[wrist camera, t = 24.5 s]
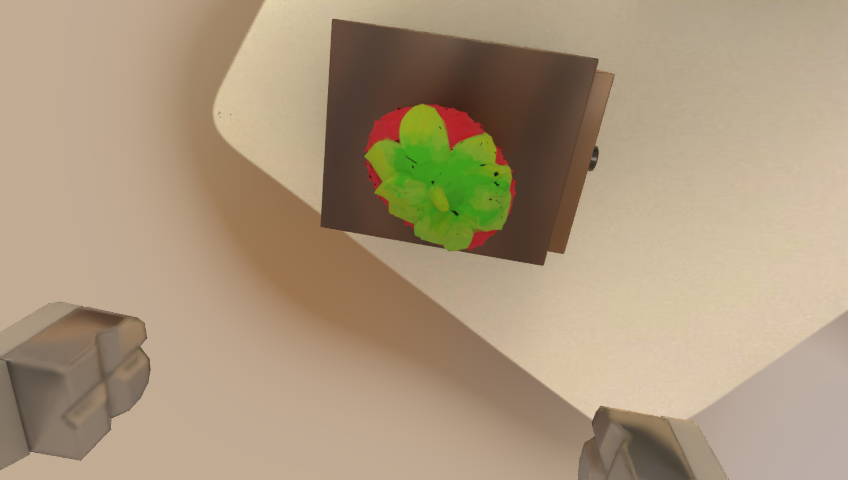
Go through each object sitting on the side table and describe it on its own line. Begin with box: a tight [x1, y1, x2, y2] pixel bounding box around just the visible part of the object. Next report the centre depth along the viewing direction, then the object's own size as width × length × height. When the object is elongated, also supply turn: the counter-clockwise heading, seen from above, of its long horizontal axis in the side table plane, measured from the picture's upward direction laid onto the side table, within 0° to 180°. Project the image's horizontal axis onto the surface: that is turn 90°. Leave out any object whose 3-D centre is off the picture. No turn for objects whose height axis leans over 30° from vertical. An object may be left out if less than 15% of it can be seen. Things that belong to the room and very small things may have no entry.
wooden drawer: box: [548, 69, 614, 254], centre depth 31 cm, size 14×10×8 cm
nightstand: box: [321, 19, 598, 266], centre depth 31 cm, size 14×12×10 cm
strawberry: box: [364, 104, 516, 251], centre depth 22 cm, size 6×7×10 cm
